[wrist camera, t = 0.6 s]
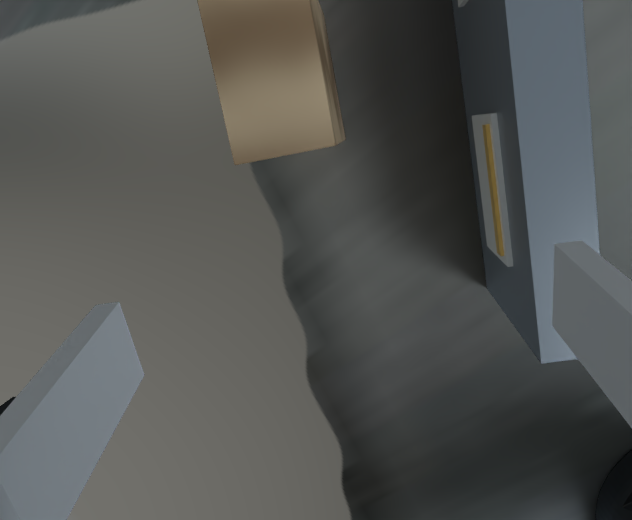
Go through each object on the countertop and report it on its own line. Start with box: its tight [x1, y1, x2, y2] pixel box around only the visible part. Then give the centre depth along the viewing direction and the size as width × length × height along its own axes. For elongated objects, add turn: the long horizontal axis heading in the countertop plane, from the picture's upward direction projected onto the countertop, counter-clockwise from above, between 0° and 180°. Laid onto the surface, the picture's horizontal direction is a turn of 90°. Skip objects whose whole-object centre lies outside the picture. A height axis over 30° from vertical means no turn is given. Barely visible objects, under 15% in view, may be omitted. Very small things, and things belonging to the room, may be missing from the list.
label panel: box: [452, 0, 600, 364], centre depth 27 cm, size 30×4×12 cm, turn 11°
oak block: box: [197, 0, 346, 165], centre depth 29 cm, size 8×5×11 cm, turn 11°
